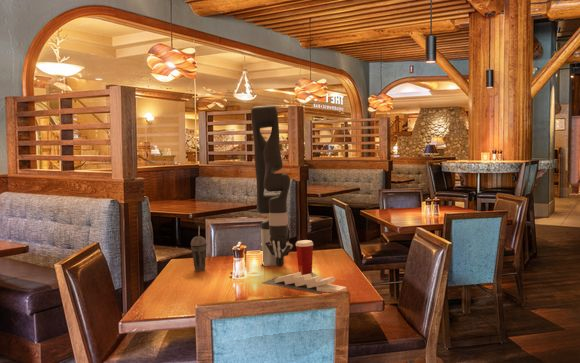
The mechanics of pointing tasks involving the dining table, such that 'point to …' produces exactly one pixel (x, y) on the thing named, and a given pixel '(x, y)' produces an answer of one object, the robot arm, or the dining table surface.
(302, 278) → the tile
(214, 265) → the dining table surface
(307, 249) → the paper cup
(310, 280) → the tile
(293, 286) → the slate mat
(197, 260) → the beverage cup
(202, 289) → the dining table surface
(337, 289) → the tile
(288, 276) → the tile
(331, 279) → the tile
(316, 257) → the dining table surface
